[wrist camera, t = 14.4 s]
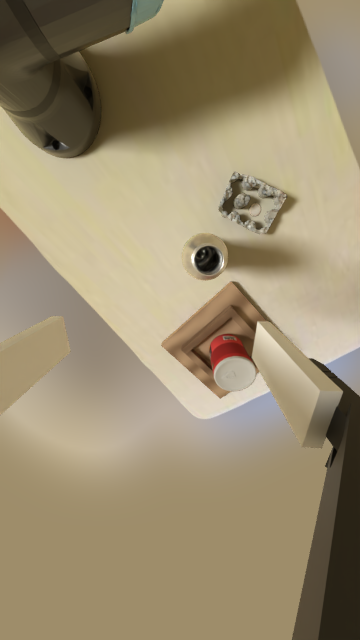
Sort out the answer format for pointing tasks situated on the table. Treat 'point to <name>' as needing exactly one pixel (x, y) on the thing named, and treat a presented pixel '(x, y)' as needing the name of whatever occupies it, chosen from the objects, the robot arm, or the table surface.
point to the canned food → (231, 363)
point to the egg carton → (255, 208)
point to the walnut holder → (214, 333)
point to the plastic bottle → (204, 256)
